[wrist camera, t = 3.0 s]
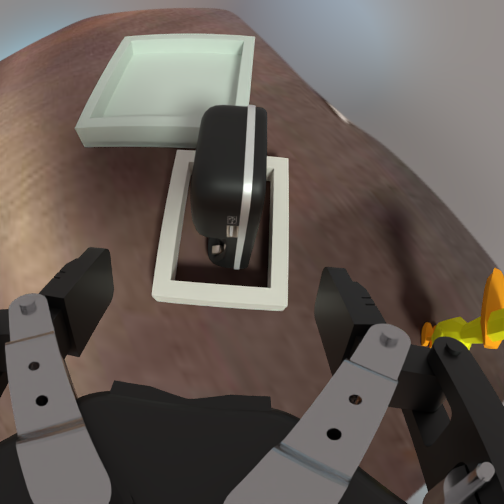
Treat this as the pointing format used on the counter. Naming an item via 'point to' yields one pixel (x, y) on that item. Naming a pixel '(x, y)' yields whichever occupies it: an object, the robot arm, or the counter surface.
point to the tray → (165, 89)
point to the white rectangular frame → (217, 293)
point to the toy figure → (479, 330)
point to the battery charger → (230, 181)
